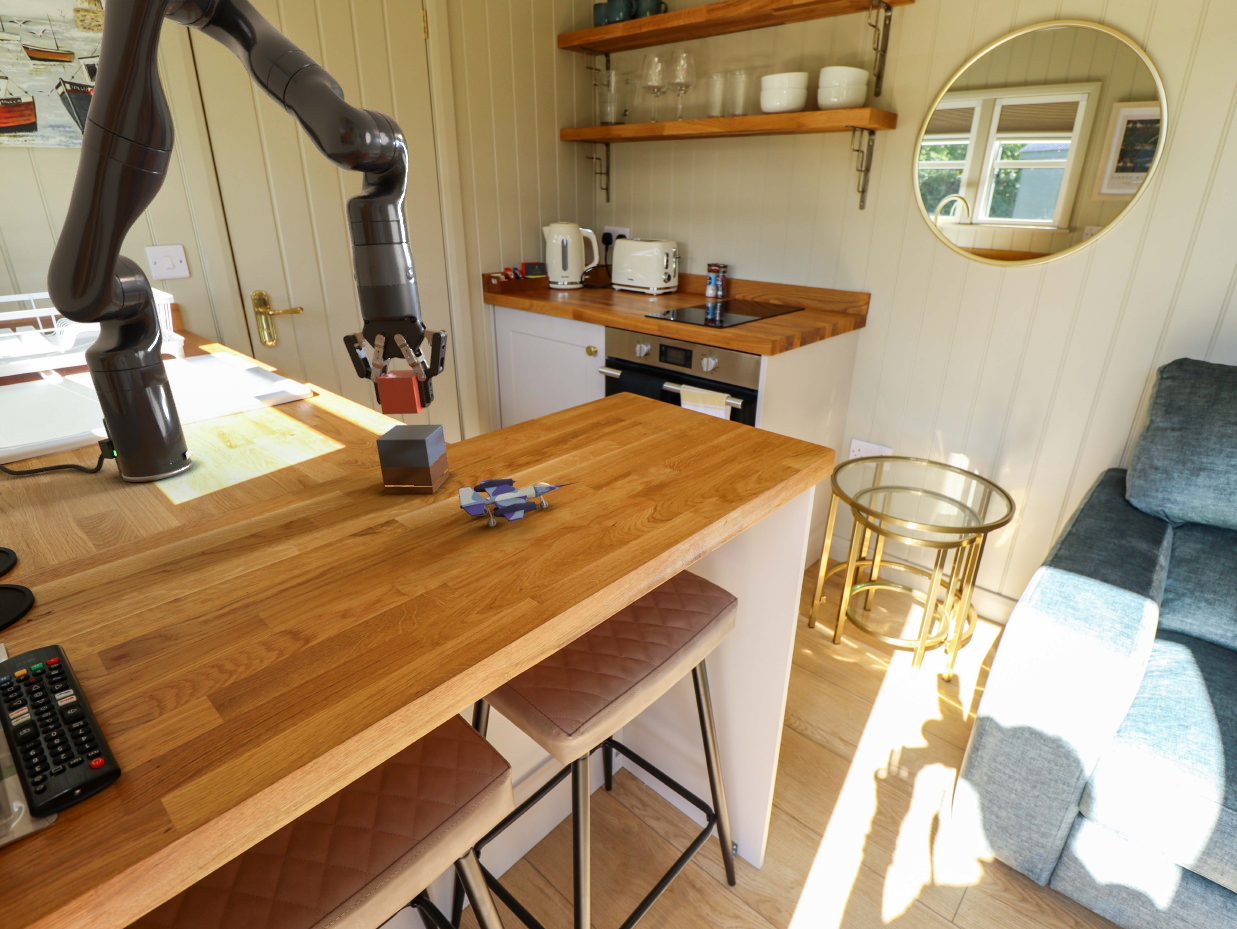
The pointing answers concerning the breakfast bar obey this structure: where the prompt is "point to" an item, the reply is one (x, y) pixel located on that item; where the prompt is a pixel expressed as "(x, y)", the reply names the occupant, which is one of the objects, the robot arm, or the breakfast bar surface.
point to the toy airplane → (503, 499)
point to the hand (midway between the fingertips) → (406, 406)
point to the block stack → (413, 458)
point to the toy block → (399, 392)
